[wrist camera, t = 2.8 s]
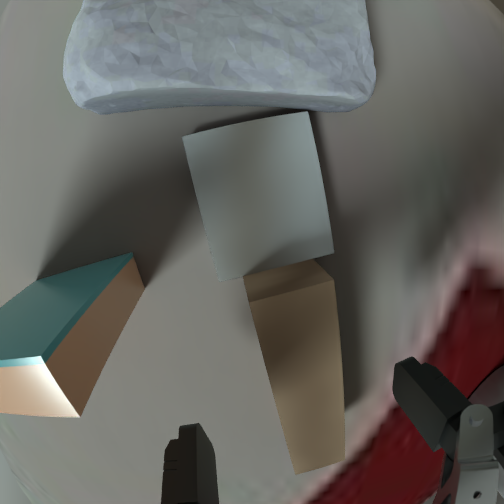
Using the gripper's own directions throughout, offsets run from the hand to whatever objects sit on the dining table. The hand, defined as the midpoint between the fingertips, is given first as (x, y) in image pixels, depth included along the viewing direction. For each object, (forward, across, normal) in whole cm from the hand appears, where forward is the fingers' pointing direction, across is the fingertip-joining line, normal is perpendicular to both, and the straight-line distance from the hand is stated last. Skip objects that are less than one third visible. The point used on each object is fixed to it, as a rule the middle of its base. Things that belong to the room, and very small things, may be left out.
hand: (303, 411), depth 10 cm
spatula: (+5, -1, -2) cm, 5 cm away
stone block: (+5, -1, -16) cm, 17 cm away
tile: (+5, +8, -6) cm, 11 cm away
